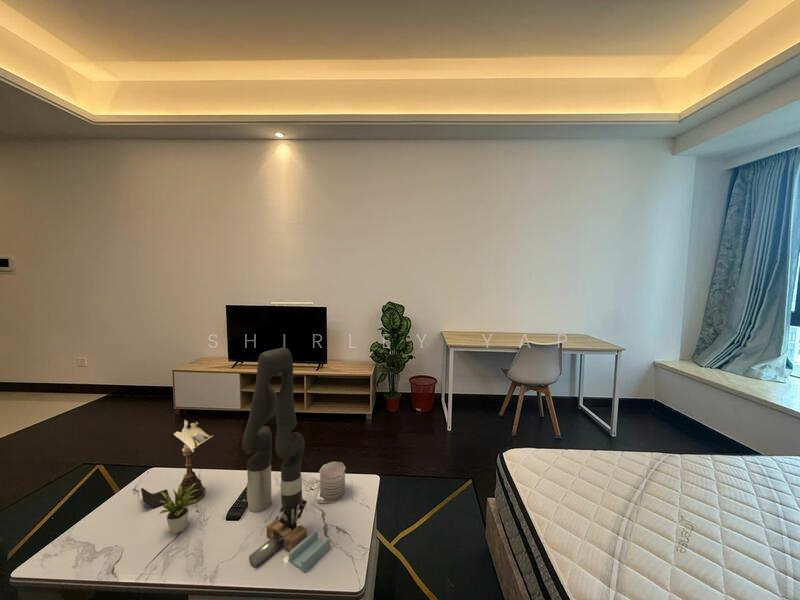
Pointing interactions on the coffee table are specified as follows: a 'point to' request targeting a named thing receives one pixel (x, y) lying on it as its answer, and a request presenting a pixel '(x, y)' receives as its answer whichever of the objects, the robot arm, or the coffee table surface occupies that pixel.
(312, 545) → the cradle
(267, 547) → the axle
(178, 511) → the house plant
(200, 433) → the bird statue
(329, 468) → the can
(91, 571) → the coffee table surface
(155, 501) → the dark v-shaped block
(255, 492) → the robot arm
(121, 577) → the coffee table surface
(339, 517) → the coffee table surface
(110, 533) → the coffee table surface
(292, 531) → the brown h-shaped block
